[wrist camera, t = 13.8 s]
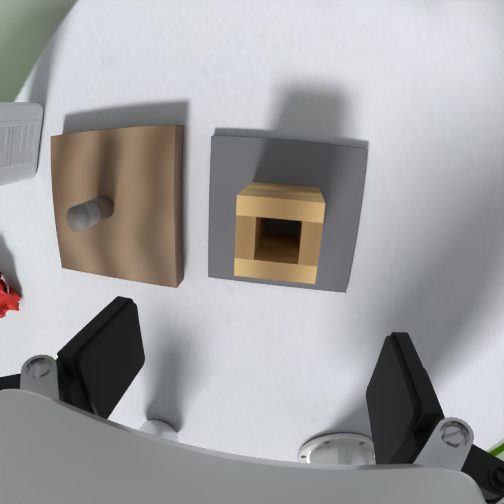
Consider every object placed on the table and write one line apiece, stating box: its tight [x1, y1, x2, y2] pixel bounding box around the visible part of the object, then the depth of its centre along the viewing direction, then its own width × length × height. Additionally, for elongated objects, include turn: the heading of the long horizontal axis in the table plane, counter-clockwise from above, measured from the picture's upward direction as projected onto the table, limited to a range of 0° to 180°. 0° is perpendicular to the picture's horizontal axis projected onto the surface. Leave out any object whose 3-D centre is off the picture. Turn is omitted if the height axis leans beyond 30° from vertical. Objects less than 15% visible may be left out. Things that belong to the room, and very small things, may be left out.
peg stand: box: [51, 125, 183, 288], centre depth 27 cm, size 16×16×7 cm
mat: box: [208, 136, 368, 293], centre depth 28 cm, size 14×14×1 cm
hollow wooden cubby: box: [234, 182, 325, 284], centre depth 25 cm, size 6×6×7 cm
